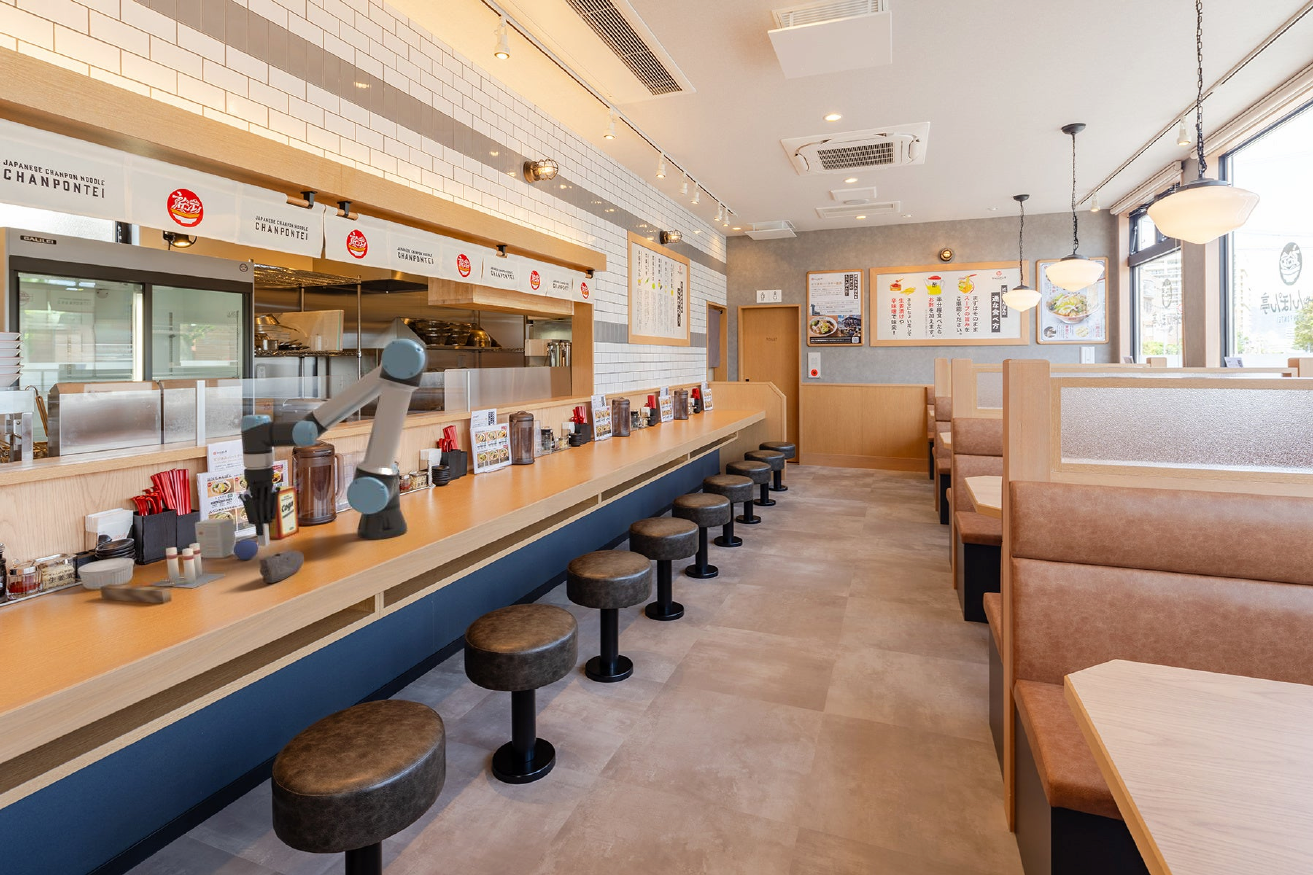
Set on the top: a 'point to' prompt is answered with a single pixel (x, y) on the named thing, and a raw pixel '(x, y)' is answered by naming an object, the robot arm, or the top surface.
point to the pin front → (197, 559)
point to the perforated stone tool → (280, 565)
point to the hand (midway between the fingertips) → (263, 545)
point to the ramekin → (106, 572)
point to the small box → (215, 537)
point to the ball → (245, 549)
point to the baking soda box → (285, 514)
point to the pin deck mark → (182, 584)
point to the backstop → (135, 593)
